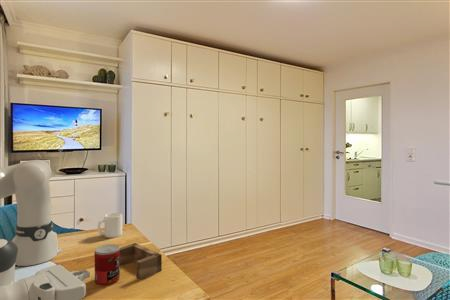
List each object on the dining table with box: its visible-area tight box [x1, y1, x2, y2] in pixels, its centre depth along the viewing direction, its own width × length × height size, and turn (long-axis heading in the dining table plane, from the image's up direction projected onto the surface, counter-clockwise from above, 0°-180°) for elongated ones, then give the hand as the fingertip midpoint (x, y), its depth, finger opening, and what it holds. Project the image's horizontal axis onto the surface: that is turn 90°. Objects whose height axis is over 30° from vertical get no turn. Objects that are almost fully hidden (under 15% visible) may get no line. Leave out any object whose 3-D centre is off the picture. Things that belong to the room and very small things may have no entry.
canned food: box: [94, 243, 121, 287], centre depth 93 cm, size 8×8×11 cm
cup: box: [97, 212, 123, 239], centre depth 135 cm, size 8×12×10 cm
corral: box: [119, 242, 163, 281], centre depth 102 cm, size 17×9×6 cm, turn 51°
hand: (87, 273), depth 87 cm, fingers closed
